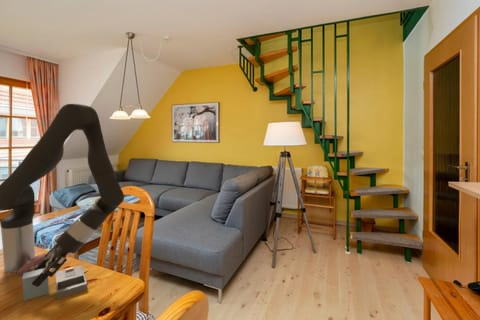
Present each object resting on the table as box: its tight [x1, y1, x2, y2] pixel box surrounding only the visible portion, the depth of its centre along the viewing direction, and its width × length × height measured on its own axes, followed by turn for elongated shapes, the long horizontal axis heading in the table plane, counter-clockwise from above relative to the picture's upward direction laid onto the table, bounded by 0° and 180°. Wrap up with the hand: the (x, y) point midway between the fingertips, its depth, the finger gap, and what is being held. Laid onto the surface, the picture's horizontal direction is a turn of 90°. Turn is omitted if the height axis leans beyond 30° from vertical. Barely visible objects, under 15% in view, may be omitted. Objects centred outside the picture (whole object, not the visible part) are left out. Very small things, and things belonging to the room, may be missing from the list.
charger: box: [21, 268, 50, 302], centre depth 77 cm, size 4×6×8 cm, turn 127°
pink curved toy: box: [16, 253, 47, 277], centre depth 94 cm, size 10×5×7 cm, turn 169°
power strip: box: [55, 264, 88, 300], centre depth 83 cm, size 15×8×4 cm, turn 38°
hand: (35, 278), depth 77 cm, fingers open, 8 cm apart
